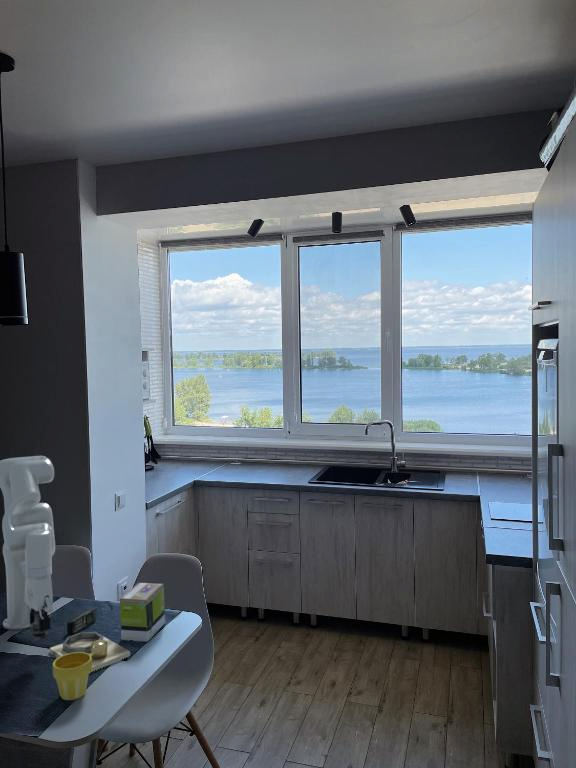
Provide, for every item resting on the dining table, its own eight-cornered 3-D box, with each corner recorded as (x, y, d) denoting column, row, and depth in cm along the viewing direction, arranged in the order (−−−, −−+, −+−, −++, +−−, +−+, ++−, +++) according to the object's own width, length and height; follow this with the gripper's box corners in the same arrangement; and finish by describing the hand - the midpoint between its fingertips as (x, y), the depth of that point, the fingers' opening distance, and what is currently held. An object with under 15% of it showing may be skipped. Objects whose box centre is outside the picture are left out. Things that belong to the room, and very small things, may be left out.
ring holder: (57, 646, 194) (57, 640, 194) (90, 634, 203) (90, 628, 203) (75, 658, 186) (75, 651, 186) (108, 645, 195) (108, 639, 195)
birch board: (49, 652, 194) (49, 648, 193) (94, 635, 205) (94, 631, 205) (83, 675, 179) (83, 670, 179) (130, 656, 190) (130, 651, 190)
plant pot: (64, 683, 174) (63, 650, 174) (98, 685, 173) (97, 651, 173) (46, 703, 164) (45, 668, 164) (82, 705, 163) (81, 670, 163)
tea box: (139, 621, 216) (139, 581, 216) (165, 623, 214) (165, 583, 214) (120, 640, 202) (119, 597, 201) (147, 642, 200) (146, 599, 199)
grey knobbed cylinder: (42, 640, 184) (42, 602, 183) (25, 638, 185) (25, 601, 184) (54, 632, 189) (53, 595, 189) (37, 630, 191) (36, 593, 190)
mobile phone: (71, 622, 205) (100, 605, 219) (64, 621, 207) (93, 604, 221) (72, 636, 206) (100, 618, 220) (65, 635, 207) (94, 617, 221)
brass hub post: (87, 656, 188) (87, 643, 188) (102, 650, 191) (102, 638, 191) (96, 661, 184) (95, 648, 184) (110, 655, 188) (110, 642, 188)
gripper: (14, 566, 189) (16, 621, 190) (39, 581, 177) (40, 640, 178) (38, 560, 194) (39, 614, 196) (63, 574, 183) (64, 631, 184)
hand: (40, 626), depth 187 cm, fingers closed on grey knobbed cylinder, 5 cm apart
